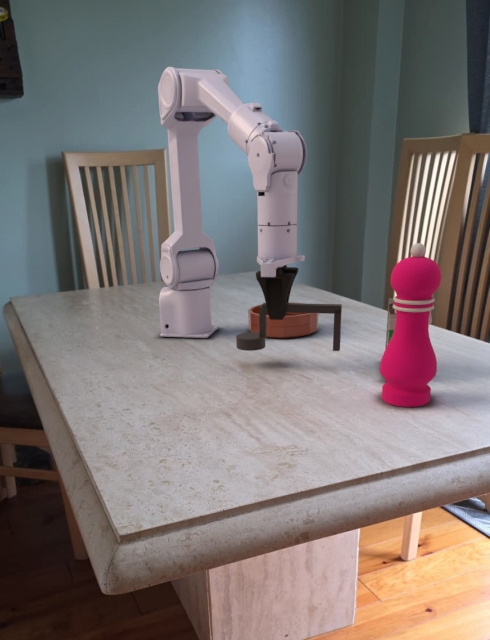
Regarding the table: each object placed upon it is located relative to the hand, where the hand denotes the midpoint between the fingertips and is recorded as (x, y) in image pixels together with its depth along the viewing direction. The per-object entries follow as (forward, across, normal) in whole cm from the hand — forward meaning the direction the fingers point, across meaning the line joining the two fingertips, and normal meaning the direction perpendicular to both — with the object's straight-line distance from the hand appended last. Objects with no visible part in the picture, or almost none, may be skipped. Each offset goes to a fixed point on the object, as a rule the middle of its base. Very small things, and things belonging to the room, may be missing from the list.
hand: (277, 317), depth 96 cm
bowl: (+8, +23, +3) cm, 25 cm away
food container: (+8, -1, -20) cm, 21 cm away
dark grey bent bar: (+5, 0, -2) cm, 5 cm away
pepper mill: (+8, -12, -20) cm, 25 cm away
